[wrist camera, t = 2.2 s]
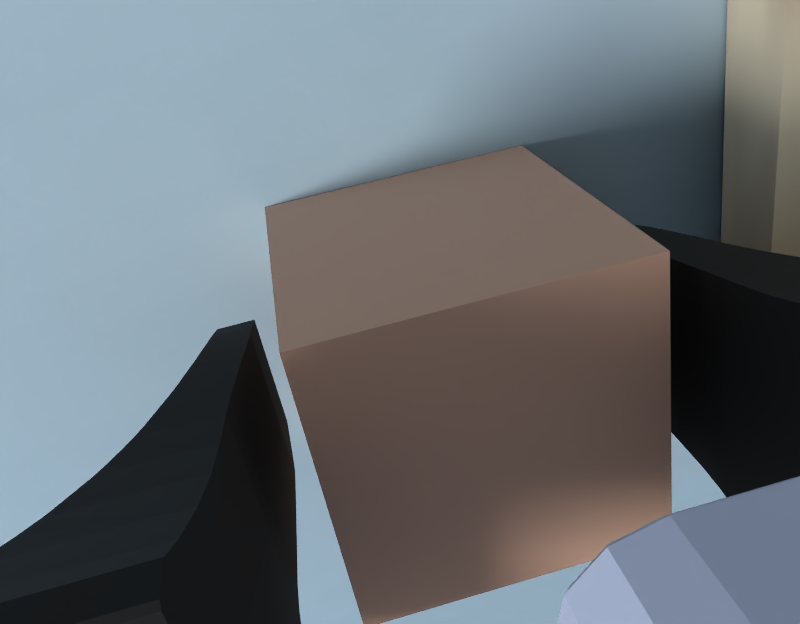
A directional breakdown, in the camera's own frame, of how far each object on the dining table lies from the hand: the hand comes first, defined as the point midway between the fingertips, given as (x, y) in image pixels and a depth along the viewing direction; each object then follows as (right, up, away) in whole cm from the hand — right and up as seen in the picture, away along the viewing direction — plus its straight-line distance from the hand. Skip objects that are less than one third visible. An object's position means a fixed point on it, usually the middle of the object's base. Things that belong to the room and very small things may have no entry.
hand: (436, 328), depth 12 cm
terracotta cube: (0, +1, +1) cm, 2 cm away
